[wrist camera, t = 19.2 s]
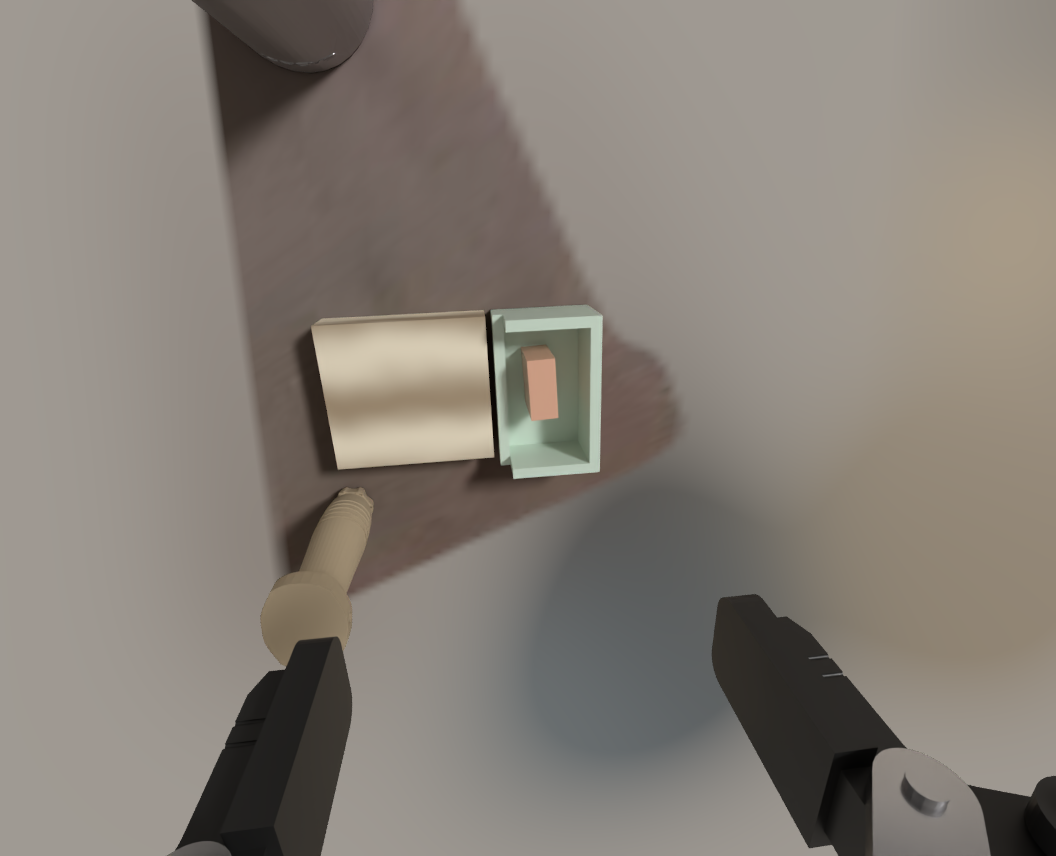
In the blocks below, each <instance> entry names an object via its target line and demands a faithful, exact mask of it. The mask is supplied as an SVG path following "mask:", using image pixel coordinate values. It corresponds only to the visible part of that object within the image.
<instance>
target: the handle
mask: <svg viewBox="0 0 1056 856" xmlns="http://www.w3.org/2000/svg"><path fill="white" fill-rule="evenodd" d="M373 507H374V504H373V500H372V499H371V498H369V497H368V496H367V495H366V493H365V490H364V489H363V488H361V487H359V488H356V489H352V488H349V487H345V488H343V489H342V490H341V491H340V492H339V494H338V497H337V498H336V499H334V500H333V501H332V503H331V504H330V505H329V506H328V507H327V509H326V510H325V512H324V513H323V515H322V517H321V518H320V520H319V522H318V524H317V526H316V528H315V530H314V532H313V535H312V538H311V540H310V543H309V546H308V549H307V551H306V554H305V557H304V559H303V562H302V565H301V567H300V570H299V572H294V573H290V574H287V575H285V576H283V577H281V578H279V579H278V580H277V581H276V583H275V584H274V586H273V588H272V590H271V592H270V594H269V596H268V598H267V601H266V602H265V604H264V607H263V609H262V612H261V628H262V634H263V639H264V642H265V644H266V646H267V647H268V649H269V650H270V652H271V653H272V654H273V655H274V657H275V658H276V659H277V660H278V661H279V663H280V664H282V665H284V666H287V664H288V661H289V659H290V656H291V654H292V651H293V649H294V647H295V645H296V643H297V642H298V641H299V640H306V639H316V638H325V637H335V636H337V637H339V639H340V642H341V645H342V650H344V648H345V646H346V644H347V641H348V638H349V635H350V631H351V627H352V606H351V602H350V600H349V597H348V596H347V594H346V593H347V591H348V588H349V586H350V583H351V581H352V578H353V576H354V573H355V571H356V568H357V566H358V564H359V561H360V559H361V556H362V554H363V552H364V549H365V546H366V543H367V539H368V536H369V531H370V526H371V518H372V512H373Z"/></svg>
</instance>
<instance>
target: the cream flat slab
mask: <svg viewBox="0 0 1056 856" xmlns="http://www.w3.org/2000/svg"><path fill="white" fill-rule="evenodd" d="M311 329H312V335H313V340H314V345H315V351H316V356H317V361H318V366H319V372H320V377H321V382H322V388H323V393H324V398H325V403H326V409H327V414H328V419H329V425H330V430H331V435H332V440H333V446H334V451H335V456H336V462H337V467H338V469H351V468H364V467H377V466H390V465H402V464H415V463H428V462H441V461H454V460H467V459H479V458H492V457H494V446H493V431H492V415H491V400H490V385H489V369H488V354H487V338H486V323H485V314H484V310H476V311H457V312H438V313H419V314H400V315H381V316H363V317H344V318H325V319H321V320H319V321H318V322H316V323H315V324H313V325H312V326H311Z"/></svg>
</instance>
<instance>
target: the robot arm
mask: <svg viewBox="0 0 1056 856" xmlns="http://www.w3.org/2000/svg"><path fill="white" fill-rule="evenodd" d="M192 1H193V2H195V3H196V4H197V5H198V6H200V7H201V8H202V9H203V10H205V11H206V12H207V13H208V14H209V15H211V16H212V17H213V18H214V19H216V20H217V21H218V22H219V23H221V24H222V25H223V26H224V27H226V28H227V29H228V30H229V31H231V32H232V33H233V34H234V35H236V36H237V37H238V38H239V39H241V40H242V41H243V42H244V43H246V44H247V45H248V46H249V47H251V48H252V49H253V50H254V51H256V52H257V53H258V54H259V55H261V56H262V57H264V58H265V59H267V60H269V61H270V62H272V63H274V64H276V65H277V66H280V67H283V68H286V69H289V70H292V71H298V72H307V73H311V72H319V71H325V70H328V69H330V68H333V67H335V66H337V65H339V64H341V63H342V62H343V61H345V60H346V59H347V58H349V57H350V56H351V55H352V54H353V53H354V52H355V50H356V49H357V48H358V47H359V45H360V44H361V43H362V40H363V38H364V36H365V34H366V32H367V30H368V28H369V24H370V20H371V16H372V12H373V0H192ZM712 662H713V667H714V671H715V675H716V678H717V680H718V682H719V684H720V686H721V688H722V690H723V691H724V693H725V695H726V697H727V699H728V701H729V703H730V704H731V706H732V708H733V710H734V712H735V714H736V715H737V717H738V719H739V721H740V722H741V725H742V726H743V728H744V730H745V732H746V734H747V735H748V737H749V739H750V741H751V743H752V745H753V747H754V748H755V750H756V752H757V754H758V756H759V757H760V759H761V761H762V763H763V765H764V767H765V769H766V770H767V772H768V774H769V776H770V778H771V779H772V781H773V783H774V785H775V787H776V789H777V791H778V792H779V794H780V796H781V798H782V800H783V801H784V803H785V805H786V807H787V809H788V811H789V812H790V814H791V816H792V818H793V820H794V821H795V823H796V825H797V827H798V829H799V831H800V833H801V835H802V836H803V838H804V840H805V842H806V844H807V845H808V847H809V848H813V847H820V846H827V845H833V847H834V849H835V850H836V852H837V854H838V856H1056V776H1051V777H1046V778H1044V779H1042V780H1040V781H1039V783H1038V784H1037V785H1036V788H1035V790H1034V792H1033V794H1032V796H1031V797H1028V796H1023V795H1017V794H1012V793H1007V792H1001V791H996V790H991V789H985V788H980V787H975V786H971V785H967V784H966V783H965V782H964V781H963V780H962V779H961V778H960V777H959V776H958V775H957V774H956V773H954V772H953V771H952V770H951V769H949V768H948V767H947V766H945V765H944V764H942V763H941V762H939V761H937V760H935V759H934V758H932V757H930V756H928V755H925V754H923V753H920V752H917V751H914V750H910V749H907V748H906V747H905V746H904V745H903V744H902V743H901V741H900V740H899V739H898V738H897V737H896V735H895V734H894V733H893V732H892V731H891V729H890V728H889V727H888V726H887V725H886V723H885V722H884V721H883V720H882V719H881V717H880V716H879V715H878V714H877V713H876V711H875V710H874V709H873V708H872V707H871V705H870V704H869V703H868V702H867V700H866V699H865V698H864V697H863V696H862V695H861V693H860V692H859V691H858V690H857V688H856V687H855V686H854V685H853V684H852V683H851V681H850V680H849V679H848V678H847V676H843V673H842V670H841V669H840V668H839V667H838V666H837V664H836V663H835V662H834V661H833V660H832V659H829V657H828V654H827V652H826V651H825V650H824V649H823V648H822V646H821V645H820V644H819V643H818V642H817V640H816V639H815V638H814V637H813V636H812V634H811V633H809V632H808V631H806V630H805V629H804V628H802V627H801V626H799V625H798V624H796V623H795V622H793V621H792V620H791V619H789V618H788V617H779V618H777V617H776V616H775V614H774V613H773V612H772V610H771V609H770V608H769V607H768V605H767V604H766V603H765V602H764V600H763V599H762V598H761V597H760V596H758V595H756V594H752V595H742V596H734V597H733V596H732V597H724V598H721V599H720V600H719V602H718V607H717V615H716V623H715V630H714V638H713V646H712ZM351 716H352V693H351V687H350V683H349V679H348V673H347V669H346V664H345V659H344V655H343V650H342V645H341V642H340V639H339V637H337V636H335V637H325V638H316V639H306V640H299V641H298V642H297V643H296V645H295V647H294V649H293V651H292V654H291V656H290V659H289V661H288V664H287V666H286V669H285V670H277V671H269V672H268V673H267V674H266V675H265V676H264V677H263V679H262V680H261V681H260V682H259V683H258V684H257V685H256V686H255V687H254V688H253V690H252V691H251V692H250V693H249V694H248V695H247V698H246V699H245V702H244V704H243V706H242V708H241V711H240V713H239V715H238V717H237V719H236V721H235V722H236V724H235V727H233V728H232V730H231V732H230V734H229V737H228V739H227V741H226V743H225V745H226V746H225V749H223V750H222V752H221V754H220V757H219V759H218V761H217V763H216V765H215V767H214V769H213V772H212V774H211V776H210V778H209V781H208V783H207V785H206V787H205V789H204V791H203V793H202V796H201V798H200V800H199V802H198V804H197V807H196V809H195V811H194V813H193V816H192V818H191V820H190V822H189V824H188V826H187V829H186V831H185V833H184V835H183V837H182V839H181V841H180V843H179V845H178V847H177V848H176V850H175V851H174V852H172V853H171V854H169V855H167V856H321V851H322V846H323V843H324V838H325V834H326V829H327V825H328V821H329V816H330V812H331V807H332V803H333V799H334V794H335V790H336V785H337V781H338V776H339V772H340V768H341V764H342V759H343V755H344V750H345V746H346V741H347V737H348V733H349V728H350V723H351Z"/></svg>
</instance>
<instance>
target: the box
mask: <svg viewBox="0 0 1056 856" xmlns="http://www.w3.org/2000/svg"><path fill="white" fill-rule="evenodd" d="M490 313H491V329H492V345H493V362H494V378H495V395H496V411H497V427H498V444H499V456H500V463H501V465H511V469H512V474H513V479H518V478H530V477H543V476H555V475H567V474H579V473H592V472H600V425H601V369H602V315H601V314H600V313H598V312H597V311H595V310H594V309H593V308H591V307H590V306H588V305H571V306H552V307H533V308H514V309H495V310H490ZM545 344H546V345H547V347H548V348H549V350H550V351H551V353H552V354H553V356H554V357H555V365H556V383H557V401H558V418H555V419H546V420H536V421H531V418H530V415H529V412H528V409H527V406H526V403H525V394H524V382H523V370H522V357H521V347H525V346H535V345H545Z"/></svg>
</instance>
